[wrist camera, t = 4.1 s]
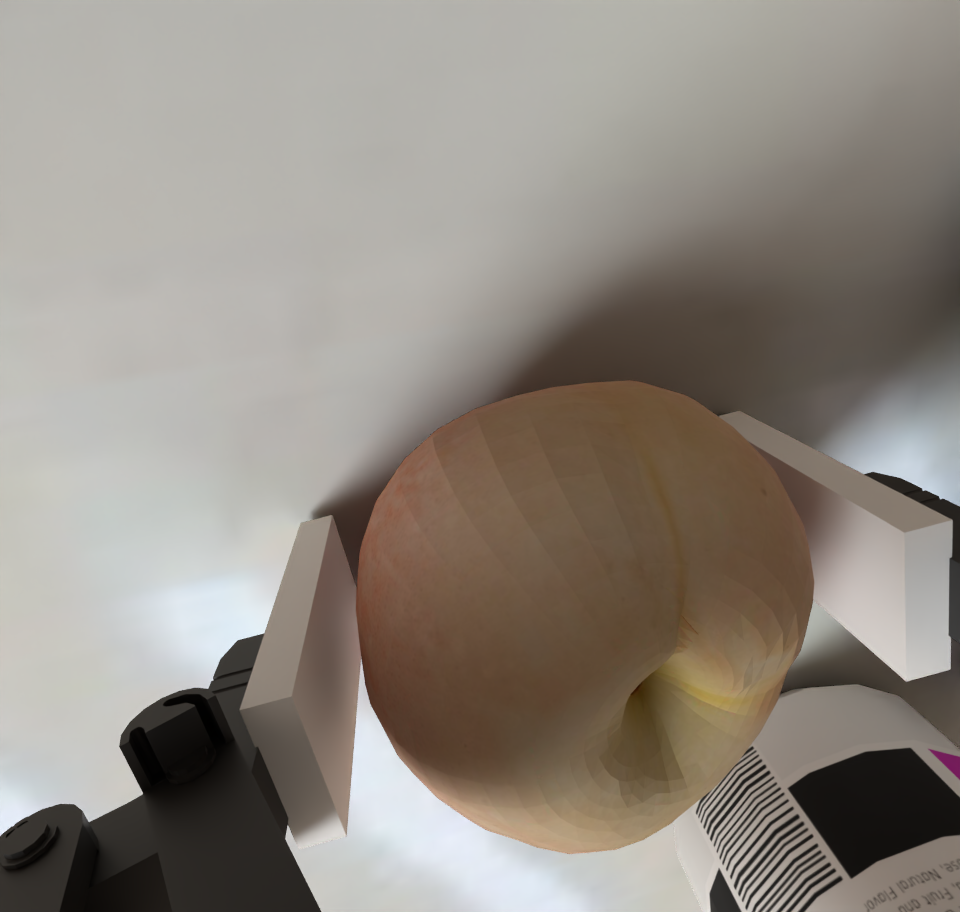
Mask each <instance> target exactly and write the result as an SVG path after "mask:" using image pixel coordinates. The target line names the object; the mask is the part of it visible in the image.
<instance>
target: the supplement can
mask: <svg viewBox="0 0 960 912" xmlns="http://www.w3.org/2000/svg"><path fill="white" fill-rule="evenodd" d="M673 825H674V835H675V846H676V854H677V856H678V858H679V860H680V863H681V865H682V867H683V869H684V872H685V874H686V876H687V878H688V880H689V883H690V885H691V887H692V889H693V891H694V894H695V896H696V898H697V900H698V903H699V905H700V907H701V909H702V911H703V912H960V749H959V748H958V747H957V746H955V745H954V744H953V743H952V742H951V741H950V740H949V739H948V738H947V737H946V736H945V735H943V734H942V733H941V732H940V731H939V730H938V729H937V728H936V727H935V726H934V725H933V724H931V723H930V722H929V721H928V720H927V719H926V718H925V717H923V716H922V715H921V714H920V713H919V712H917V711H916V710H915V709H914V708H913V707H912V706H910V705H909V704H908V703H907V702H906V701H904V700H903V699H902V698H901V697H900V696H898V695H894V694H891V693H887V692H883V691H880V690H876V689H873V688H869V687H865V686H862V685H858V684H853V685H840V686H827V687H813V688H802V689H793V690H790V691H787V692H785V693H782V694H780V695H779V698H778V701H777V703H776V705H775V707H774V709H773V710H772V712H771V714H770V716H769V718H768V719H767V721H766V723H765V725H764V727H763V729H762V730H761V732H760V733H759V735H758V736H757V737H756V739H755V740H754V741H753V743H752V744H751V745H750V747H749V748H748V749H747V751H746V752H745V753H744V755H743V756H742V757H741V759H740V760H739V761H738V763H737V764H736V765H735V766H734V767H733V768H732V769H731V770H730V772H729V773H728V774H727V775H726V776H725V777H724V778H723V779H722V780H721V781H720V782H719V784H718V785H717V786H716V787H715V788H714V789H712V790H711V791H710V792H709V793H707V794H706V795H705V796H704V797H702V798H701V799H700V800H699V801H698V802H696V803H695V804H694V805H693V806H691V807H690V808H689V809H688V810H686V811H685V812H684V813H683V814H682V815H680V816H679V817H678V818H677V819H675V820H674V821H673Z"/></svg>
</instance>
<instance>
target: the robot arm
mask: <svg viewBox="0 0 960 912" xmlns="http://www.w3.org/2000/svg"><path fill="white" fill-rule="evenodd" d="M718 417H720V418H721V419H723V420H724V421H725V422H727V423H728V424H730V425H731V426H732V427H734V428H735V429H736V430H737V431H738V432H739V433H740V434H741V435H742V436H743V437H744V438H745V439H746V440H747V441H748V442H749V443H750V444H751V445H752V446H753V447H754V449H755V450H756V451H757V452H758V453H759V454H760V455H761V456H762V457H763V458H764V459H765V460H766V461H767V462H768V463H769V464H770V465H771V467H772V468H773V469H774V470H775V472H776V474H777V475H778V477H779V479H780V481H781V483H782V485H783V487H784V489H785V491H786V492H787V494H788V496H789V498H790V500H791V502H792V504H793V506H794V508H795V509H796V511H797V513H798V515H799V517H800V519H801V521H802V523H803V525H804V529H805V533H806V537H807V541H808V545H809V551H810V557H811V564H812V570H813V576H814V594H813V600H814V601H815V602H816V603H817V604H818V605H819V606H821V607H822V608H823V609H824V610H825V611H826V612H827V613H829V614H830V615H831V616H832V617H833V618H834V619H835V620H837V621H838V622H839V623H840V624H841V625H842V626H843V627H845V628H846V629H847V630H848V631H849V632H850V633H851V634H852V635H854V636H855V637H856V638H857V639H858V640H859V641H860V642H862V643H863V644H864V645H865V646H866V647H867V648H868V649H870V650H871V651H872V652H873V653H874V654H875V655H876V656H878V657H879V658H880V659H881V660H882V661H883V662H884V663H886V664H887V665H888V666H889V667H890V668H891V669H892V670H894V671H895V672H896V673H897V674H898V675H899V676H900V677H902V678H903V679H904V680H905V681H906V682H907V681H911V680H914V679H918V678H922V677H925V676H929V675H933V674H936V673H940V672H943V671H947V670H951V638H953V639H954V640H955V641H957V642H958V643H960V507H959V506H957V505H955V504H953V503H951V502H949V501H947V500H945V499H941V500H940V499H939V496H936V495H934V494H932V493H930V492H928V491H926V490H925V491H922V488H920V487H918V486H916V485H914V484H912V483H910V482H907V481H905V480H903V479H901V478H897V477H893V476H888V475H884V474H879V473H875V472H871V473H867V474H862V473H860V472H858V471H856V470H854V469H852V468H850V467H848V466H846V465H844V464H842V463H840V462H838V461H836V460H835V459H833V458H831V457H829V456H827V455H825V454H823V453H821V452H819V451H817V450H815V449H813V448H811V447H809V446H807V445H805V444H803V443H801V442H799V441H797V440H796V439H794V438H792V437H790V436H788V435H786V434H784V433H782V432H780V431H778V430H776V429H774V428H772V427H770V426H768V425H766V424H764V423H762V422H760V421H758V420H756V419H755V418H753V417H751V416H749V415H747V414H745V413H743V412H741V411H736V412H732V413H728V414H724V415H720V416H718ZM356 591H357V588H356V585H355V582H354V579H353V576H352V573H351V570H350V567H349V564H348V561H347V558H346V555H345V552H344V549H343V546H342V543H341V540H340V537H339V534H338V531H337V527H336V524H335V521H334V518H333V515H330V516H326V517H322V518H318V519H314V520H310V521H306V522H303V523H301V524H300V527H299V530H298V533H297V536H296V539H295V542H294V545H293V548H292V551H291V554H290V557H289V560H288V563H287V566H286V569H285V572H284V576H283V579H282V582H281V585H280V588H279V591H278V594H277V597H276V600H275V603H274V606H273V609H272V612H271V615H270V618H269V621H268V624H267V627H266V630H265V633H264V634H261V635H257V636H253V637H249V638H245V639H242V640H238V641H237V642H236V643H235V644H234V645H233V646H232V647H231V648H230V649H229V651H228V652H227V653H226V654H225V655H224V656H223V657H222V658H221V660H220V662H219V664H218V667H217V669H216V672H215V674H214V677H213V679H214V681H211V684H210V686H209V689H203V688H192V689H187V690H182V691H178V692H176V693H173V694H171V695H169V696H166V697H164V698H161V699H160V700H158V701H157V702H155V703H153V704H152V705H150V706H149V707H147V708H145V709H144V710H143V711H142V712H141V713H140V714H138V715H137V716H136V717H135V718H134V719H133V720H132V721H131V722H130V723H129V724H128V726H127V727H126V729H125V730H124V732H123V733H122V735H121V740H120V746H119V747H120V749H121V751H122V753H123V755H124V756H125V758H126V760H127V762H128V764H129V766H130V768H131V770H132V772H133V774H134V776H135V778H136V780H137V782H138V784H139V786H140V788H141V790H142V792H143V795H141V796H140V797H138V798H136V799H134V800H133V801H131V802H129V803H127V804H125V805H123V806H121V807H119V808H117V809H115V810H113V811H111V812H109V813H107V814H105V815H103V816H101V817H99V818H97V819H95V820H93V821H91V822H88V820H87V819H86V817H85V815H84V813H83V811H82V810H81V809H79V808H78V807H77V806H76V805H74V804H59V805H55V806H52V807H49V808H45V809H42V810H40V811H38V812H36V813H34V814H32V815H31V816H29V817H26V818H24V819H22V820H21V821H19V822H18V823H16V824H15V825H14V826H13V827H11V828H9V829H8V830H7V831H6V832H4V833H3V834H2V835H1V836H0V912H321V910H320V908H319V906H318V904H317V902H316V900H315V898H314V896H313V894H312V892H311V890H310V888H309V886H308V884H307V882H306V880H305V878H304V876H303V874H302V872H301V870H300V868H299V866H298V864H297V862H296V860H295V858H294V856H293V854H292V852H291V850H290V848H289V846H288V844H287V842H286V840H285V836H286V830H287V825H288V826H289V828H290V830H291V833H292V835H293V837H294V840H295V842H296V844H297V847H298V849H303V848H307V847H310V846H314V845H317V844H321V843H325V842H328V841H332V840H335V839H339V838H343V837H346V836H347V824H348V811H349V799H350V786H351V774H352V762H353V749H354V737H355V725H356V712H357V700H358V687H359V675H360V663H361V651H360V643H359V634H358V626H357V617H356Z"/></svg>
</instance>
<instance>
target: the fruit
mask: <svg viewBox="0 0 960 912" xmlns="http://www.w3.org/2000/svg"><path fill="white" fill-rule="evenodd" d="M813 594H814V576H813V570H812V564H811V557H810V551H809V545H808V541H807V537H806V533H805V529H804V525H803V523H802V521H801V519H800V517H799V515H798V513H797V511H796V509H795V508H794V506H793V504H792V502H791V500H790V498H789V496H788V494H787V492H786V491H785V489H784V487H783V485H782V483H781V481H780V479H779V477H778V475H777V474H776V472H775V470H774V469H773V468H772V467H771V465H770V464H769V463H768V462H767V461H766V460H765V459H764V458H763V457H762V456H761V455H760V454H759V453H758V452H757V451H756V450H755V449H754V447H753V446H752V445H751V444H750V443H749V442H748V441H747V440H746V439H745V438H744V437H743V436H742V435H741V434H740V433H739V432H738V431H737V430H736V429H735V428H734V427H732V426H731V425H730V424H728V423H727V422H725V421H724V420H723V419H721V418H720V417H718V416H717V415H715V414H714V413H713V412H711V411H710V410H708V409H707V408H706V407H704V406H703V405H701V404H700V403H699V402H697V401H695V400H693V399H692V398H690V397H688V396H686V395H684V394H680V393H677V392H674V391H670V390H667V389H663V388H660V387H657V386H653V385H650V384H647V383H643V382H639V381H633V380H626V381H609V382H592V383H582V384H574V385H566V386H558V387H551V388H546V389H542V390H538V391H534V392H530V393H525V394H521V395H517V396H513V397H510V398H507V399H504V400H501V401H498V402H495V403H491V404H488V405H485V406H482V407H479V408H476V409H474V410H472V411H470V412H468V413H466V414H465V415H463V416H461V417H459V418H457V419H456V420H454V421H452V422H450V423H448V424H446V425H445V426H443V427H441V428H439V429H437V430H436V431H435V432H434V433H433V434H432V435H431V436H429V437H428V438H427V439H426V440H425V441H424V442H423V443H422V444H421V445H419V446H418V447H417V448H416V449H415V450H414V451H413V452H412V453H410V454H409V455H408V456H407V457H406V458H405V459H404V460H403V462H402V463H401V464H400V466H399V467H398V469H397V470H396V472H395V473H394V475H393V476H392V478H391V479H390V481H389V482H388V484H387V485H386V487H385V488H384V490H383V491H382V493H381V494H380V496H379V497H378V499H377V500H376V503H375V506H374V509H373V512H372V514H371V517H370V520H369V523H368V526H367V529H366V532H365V535H364V538H363V541H362V545H361V549H360V554H359V566H358V579H357V591H356V617H357V626H358V634H359V643H360V651H361V658H362V664H363V671H364V678H365V685H366V689H367V692H368V696H369V700H370V704H371V706H372V708H373V710H374V711H375V713H376V715H377V717H378V719H379V721H380V723H381V725H382V726H383V728H384V730H385V732H386V734H387V736H388V738H389V740H390V742H391V744H392V745H393V747H394V749H395V751H396V753H397V755H398V756H399V758H400V759H401V760H402V761H403V762H404V763H405V764H406V766H407V767H408V768H409V769H410V770H411V771H412V772H413V774H414V775H415V776H416V777H417V778H418V779H419V780H420V781H421V782H422V783H423V784H424V785H425V786H426V787H427V788H428V789H429V790H430V791H431V792H432V793H433V794H434V795H435V796H436V797H437V798H438V799H440V800H441V801H443V802H444V803H445V804H447V805H448V806H450V807H451V808H453V809H454V810H455V811H457V812H458V813H460V814H461V815H463V816H464V817H466V818H467V819H469V820H470V821H472V822H474V823H475V824H477V825H479V826H480V827H482V828H484V829H485V830H488V831H491V832H494V833H497V834H500V835H503V836H506V837H509V838H512V839H515V840H518V841H521V842H524V843H527V844H529V845H532V846H535V847H538V848H543V849H547V850H552V851H557V852H562V853H567V854H574V853H587V852H597V851H607V850H616V849H619V848H621V847H624V846H627V845H630V844H633V843H635V842H638V841H641V840H644V839H645V838H647V837H649V836H651V835H652V834H654V833H656V832H657V831H659V830H661V829H662V828H664V827H666V826H667V825H669V824H671V823H672V822H673V821H674V820H675V819H677V818H678V817H679V816H680V815H682V814H683V813H684V812H685V811H686V810H688V809H689V808H690V807H691V806H693V805H694V804H695V803H696V802H698V801H699V800H700V799H701V798H702V797H704V796H705V795H706V794H707V793H709V792H710V791H711V790H712V789H714V788H715V787H716V786H717V785H718V784H719V782H720V781H721V780H722V779H723V778H724V777H725V776H726V775H727V774H728V773H729V772H730V770H731V769H732V768H733V767H734V766H735V765H736V764H737V763H738V761H739V760H740V759H741V757H742V756H743V755H744V753H745V752H746V751H747V749H748V748H749V747H750V745H751V744H752V743H753V741H754V740H755V739H756V737H757V736H758V735H759V733H760V732H761V730H762V729H763V727H764V725H765V723H766V721H767V719H768V718H769V716H770V714H771V712H772V710H773V709H774V707H775V705H776V703H777V701H778V698H779V695H780V692H781V689H782V686H783V683H784V680H785V677H786V674H787V671H788V669H789V668H790V666H791V665H792V663H793V662H794V660H795V659H796V657H797V656H798V654H799V653H800V651H801V647H802V644H803V641H804V637H805V633H806V629H807V625H808V621H809V616H810V612H811V608H812V604H813Z"/></svg>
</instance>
